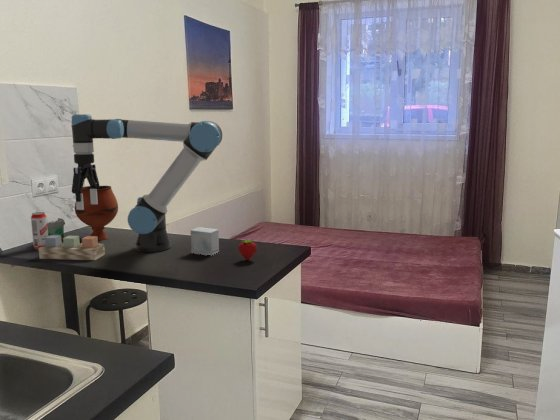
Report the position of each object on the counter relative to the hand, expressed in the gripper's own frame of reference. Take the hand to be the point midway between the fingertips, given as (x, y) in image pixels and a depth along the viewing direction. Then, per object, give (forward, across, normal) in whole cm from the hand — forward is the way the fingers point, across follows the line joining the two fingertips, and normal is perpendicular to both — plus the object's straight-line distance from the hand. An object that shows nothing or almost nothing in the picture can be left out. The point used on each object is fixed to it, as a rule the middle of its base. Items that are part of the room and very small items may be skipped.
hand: (87, 206), depth 205 cm
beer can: (+22, -10, -28) cm, 37 cm away
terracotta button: (+17, 0, 0) cm, 17 cm away
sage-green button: (+17, 0, -8) cm, 19 cm away
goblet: (+22, -30, -11) cm, 39 cm away
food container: (+22, -22, -27) cm, 41 cm away
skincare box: (+21, -11, +46) cm, 52 cm away
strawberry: (+21, -2, +66) cm, 69 cm away
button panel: (+21, 0, -8) cm, 23 cm away
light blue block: (+17, 0, -16) cm, 23 cm away
